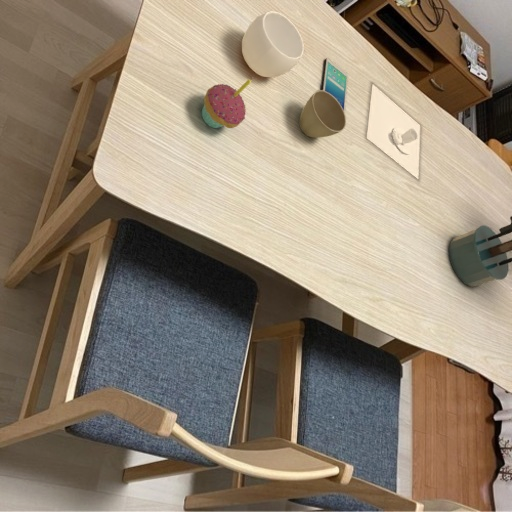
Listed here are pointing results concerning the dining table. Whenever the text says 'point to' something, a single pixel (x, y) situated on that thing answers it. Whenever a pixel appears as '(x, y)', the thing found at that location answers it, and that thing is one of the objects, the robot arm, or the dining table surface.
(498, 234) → the robot arm
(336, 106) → the flower pot
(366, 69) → the dining table surface
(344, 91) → the smartphone
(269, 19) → the cup
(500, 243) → the lid
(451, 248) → the bowl
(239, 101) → the cupcake
